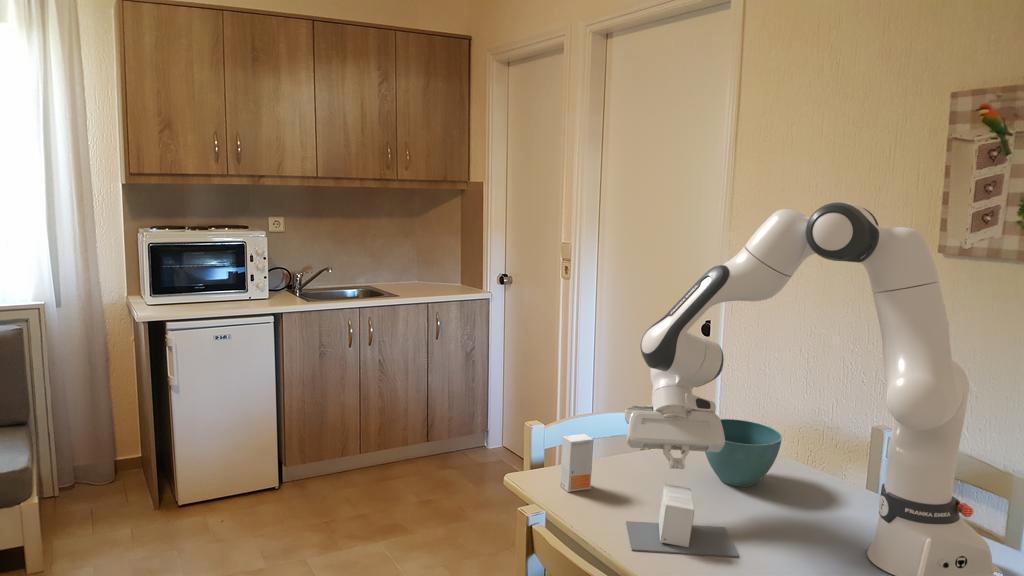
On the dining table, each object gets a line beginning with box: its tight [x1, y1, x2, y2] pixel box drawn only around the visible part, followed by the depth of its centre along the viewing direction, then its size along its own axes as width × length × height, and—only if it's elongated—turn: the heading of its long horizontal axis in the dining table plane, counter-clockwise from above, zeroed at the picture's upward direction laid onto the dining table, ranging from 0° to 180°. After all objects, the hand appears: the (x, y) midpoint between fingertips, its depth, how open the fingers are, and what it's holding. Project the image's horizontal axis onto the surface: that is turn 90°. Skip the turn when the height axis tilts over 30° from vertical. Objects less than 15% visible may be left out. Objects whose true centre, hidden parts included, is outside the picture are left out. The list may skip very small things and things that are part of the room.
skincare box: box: [559, 433, 594, 493], centre depth 167 cm, size 6×4×12 cm
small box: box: [658, 483, 696, 547], centre depth 146 cm, size 8×6×10 cm
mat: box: [625, 520, 739, 558], centre depth 145 cm, size 20×12×1 cm, turn 87°
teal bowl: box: [704, 418, 783, 488], centre depth 175 cm, size 18×18×12 cm
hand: (677, 467), depth 151 cm, fingers closed
